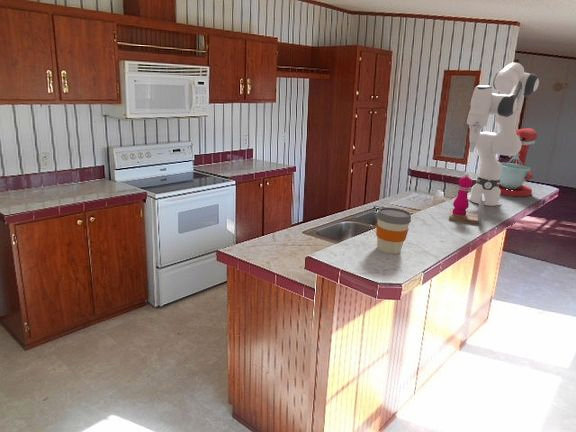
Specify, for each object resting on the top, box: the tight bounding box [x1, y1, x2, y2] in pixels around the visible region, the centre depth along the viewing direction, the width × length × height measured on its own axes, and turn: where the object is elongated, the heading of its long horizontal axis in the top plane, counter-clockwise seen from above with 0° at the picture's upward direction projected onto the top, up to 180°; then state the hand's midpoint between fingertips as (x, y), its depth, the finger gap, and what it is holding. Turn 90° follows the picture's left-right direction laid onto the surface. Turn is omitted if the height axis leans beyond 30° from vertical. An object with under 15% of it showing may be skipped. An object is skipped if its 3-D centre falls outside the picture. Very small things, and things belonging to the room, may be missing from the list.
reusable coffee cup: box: [375, 207, 412, 255], centre depth 177 cm, size 13×13×15 cm
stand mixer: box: [498, 127, 538, 197], centre depth 292 cm, size 24×32×40 cm
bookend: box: [448, 193, 485, 226], centre depth 227 cm, size 16×14×12 cm
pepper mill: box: [452, 173, 473, 215], centre depth 227 cm, size 7×7×20 cm
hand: (471, 150), depth 221 cm, fingers open, 8 cm apart
